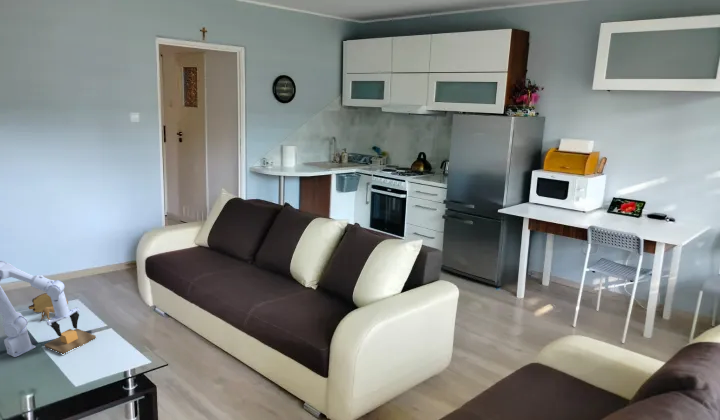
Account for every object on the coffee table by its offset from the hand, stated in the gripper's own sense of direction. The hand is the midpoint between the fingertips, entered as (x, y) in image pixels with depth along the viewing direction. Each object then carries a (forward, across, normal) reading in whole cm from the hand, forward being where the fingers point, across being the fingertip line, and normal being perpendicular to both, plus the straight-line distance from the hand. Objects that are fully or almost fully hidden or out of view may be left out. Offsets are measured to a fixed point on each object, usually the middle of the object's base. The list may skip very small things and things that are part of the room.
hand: (67, 331), depth 244 cm
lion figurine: (+6, +12, +35) cm, 38 cm away
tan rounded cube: (+4, 0, 0) cm, 5 cm away
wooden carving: (+6, +14, +48) cm, 50 cm away
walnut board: (+6, 0, 0) cm, 6 cm away
